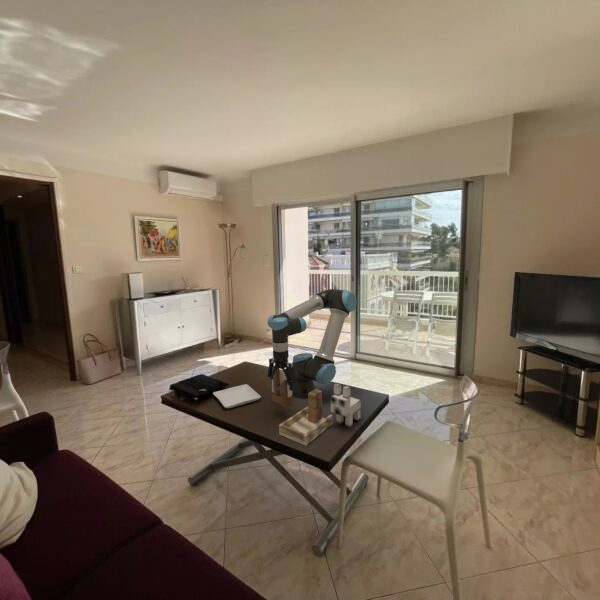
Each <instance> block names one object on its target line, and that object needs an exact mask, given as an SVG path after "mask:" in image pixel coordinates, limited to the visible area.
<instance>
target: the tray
mask: <svg viewBox="0 0 600 600" xmlns="http://www.w3.org/2000/svg"><path fill="white" fill-rule="evenodd" d="M333 418H334V415H333V414H329V415H328V416H327V417H323V416H322V419H321V420H319V421H318V422H317V423H312V422H310V421H308V405H307V406H306V407H304V408H302V409H301V410H299V411H298V412H297V413H295V414H294V415H292V416H290V417H289V418H288V419H286V420H284V421H283V422H281V423H280V424H278V434H279V436H282V437H284V438H287V439H289V440H291V441H293V442H296V443H299V444H301V445H303V446H305V447H306V446H308V445H309V444H310V443H312V442H313V441H314V440H315V439H316V438H317V437H319V436H320V435H321V434H323V433H324V432H325V431H326V430H327V429H329V427H331V426H332V425H333V424H334V419H333Z"/></svg>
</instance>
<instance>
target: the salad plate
mask: <svg viewBox="0 0 600 600" xmlns="http://www.w3.org/2000/svg"><path fill="white" fill-rule="evenodd" d="M212 394H213V396H215V398H217V399H218V401H219V402H220V403H221V405H222V406H223V407H224V408H225V409H232V408H235V407H239V406H242V405H247V404H249V403H253V402H255V401H259V400H260V399H261V398H262V396H261V395H260V394H259V393H258V392H257V391H255V390H254V389H253V388H252V387H251V386H250V385H249V384H247V383H246V384H241V385H237V386H233V387H229V388H225V389H222V390H217V391H213V392H212Z"/></svg>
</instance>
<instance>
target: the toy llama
mask: <svg viewBox="0 0 600 600" xmlns="http://www.w3.org/2000/svg"><path fill="white" fill-rule="evenodd" d="M361 400H362V399H360V398H357V397H354V396H351V386H348V385H344V386H343V387H342V383H339V382H336V383H334V384H333V395H331V396H330V413H333V414H336V418H335V419H336V421H335V422H336V423H337V424H340V425H341V424H342V423H345V424H344V425H345V427H347V428H351V427H353V424H354V423H353V422H354V421H353V420H355V421H360V420H361V413H362V412H361V411H362V410H361V405H362V402H361ZM344 417H345V419H344ZM359 419H360V420H359Z"/></svg>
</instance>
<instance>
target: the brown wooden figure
mask: <svg viewBox="0 0 600 600" xmlns="http://www.w3.org/2000/svg"><path fill="white" fill-rule="evenodd" d="M274 366H275V365H274ZM274 366H273V367H272V372H273V369H274ZM280 375H281V374H280V368H278V369H277V370H276V371H275V373H274V375H273V386H274V392H272V393H271V401H272V402H274V403H276V404H278V405H280V406H282V407H283V408H288V407H290V406H291V405H292V403H291V402H292V401H291V399H292V398H291V397H292V396H290V397H288V391H287V384H289V383H288V381H287V378H286V379H283V381H282V382H280V381H281V380H280V379H281V377H280Z"/></svg>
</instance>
